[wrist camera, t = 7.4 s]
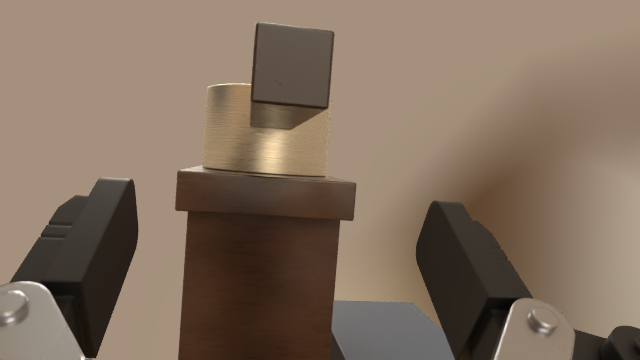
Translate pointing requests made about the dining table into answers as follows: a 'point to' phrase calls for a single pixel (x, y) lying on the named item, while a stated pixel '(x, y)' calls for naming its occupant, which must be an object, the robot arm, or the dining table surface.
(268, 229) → the tall stand
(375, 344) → the blue-grey block
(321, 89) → the milk pan
